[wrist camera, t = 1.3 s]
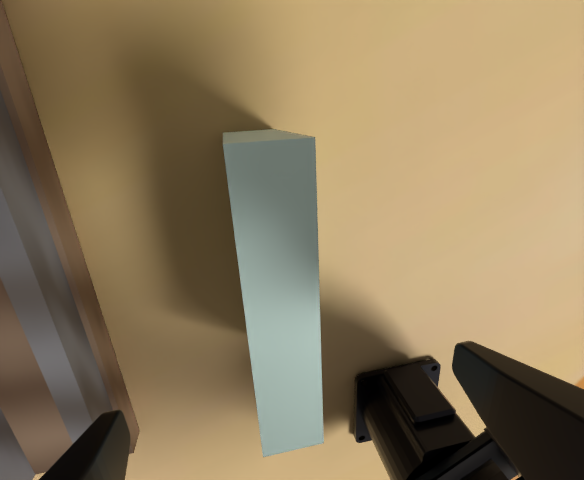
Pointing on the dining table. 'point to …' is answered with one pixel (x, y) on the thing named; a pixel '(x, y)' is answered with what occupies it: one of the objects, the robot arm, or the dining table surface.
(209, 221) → the dining table surface
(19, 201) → the track base
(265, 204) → the door panel
